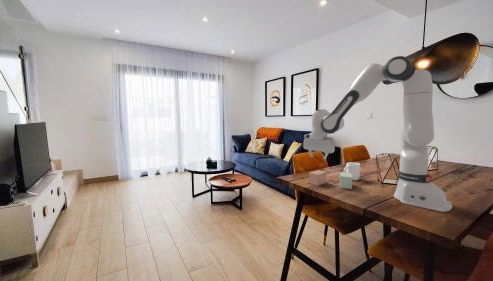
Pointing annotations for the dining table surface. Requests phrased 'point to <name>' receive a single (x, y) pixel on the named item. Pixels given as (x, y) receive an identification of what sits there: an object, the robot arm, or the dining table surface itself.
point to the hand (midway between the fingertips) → (317, 158)
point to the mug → (353, 170)
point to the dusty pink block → (317, 177)
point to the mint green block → (345, 180)
